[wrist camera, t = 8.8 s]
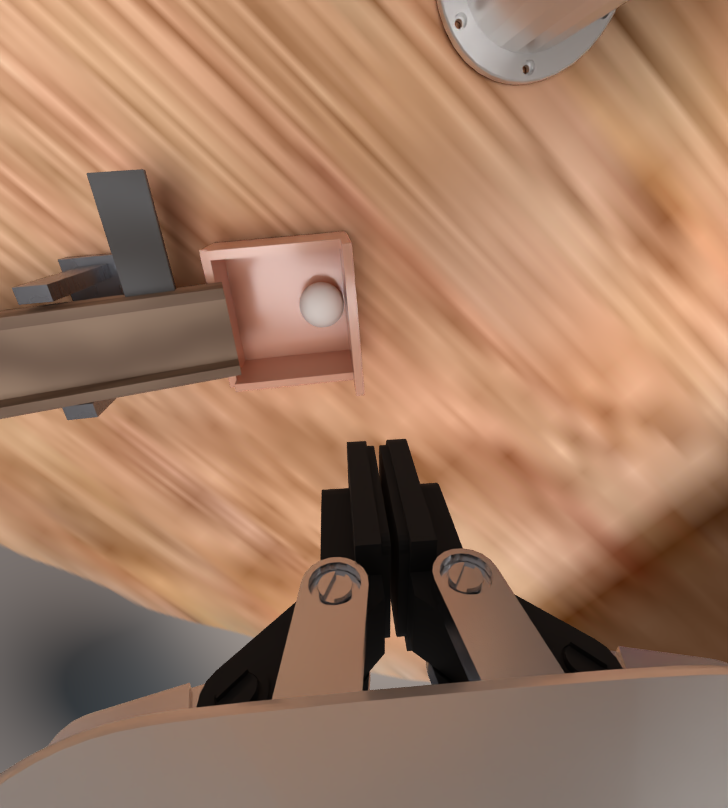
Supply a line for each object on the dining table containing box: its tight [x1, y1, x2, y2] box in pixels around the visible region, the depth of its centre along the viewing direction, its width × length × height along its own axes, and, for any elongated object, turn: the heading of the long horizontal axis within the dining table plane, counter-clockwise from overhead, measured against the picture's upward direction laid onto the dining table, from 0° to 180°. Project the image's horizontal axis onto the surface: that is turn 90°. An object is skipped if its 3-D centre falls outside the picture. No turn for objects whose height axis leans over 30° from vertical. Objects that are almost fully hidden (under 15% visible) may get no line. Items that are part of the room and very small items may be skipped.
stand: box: [12, 253, 124, 420], centre depth 32 cm, size 10×5×10 cm, turn 4°
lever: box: [0, 169, 241, 419], centre depth 28 cm, size 13×20×6 cm, turn 94°
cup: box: [199, 231, 365, 396], centre depth 33 cm, size 10×10×9 cm
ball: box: [299, 282, 344, 327], centre depth 35 cm, size 4×4×4 cm
